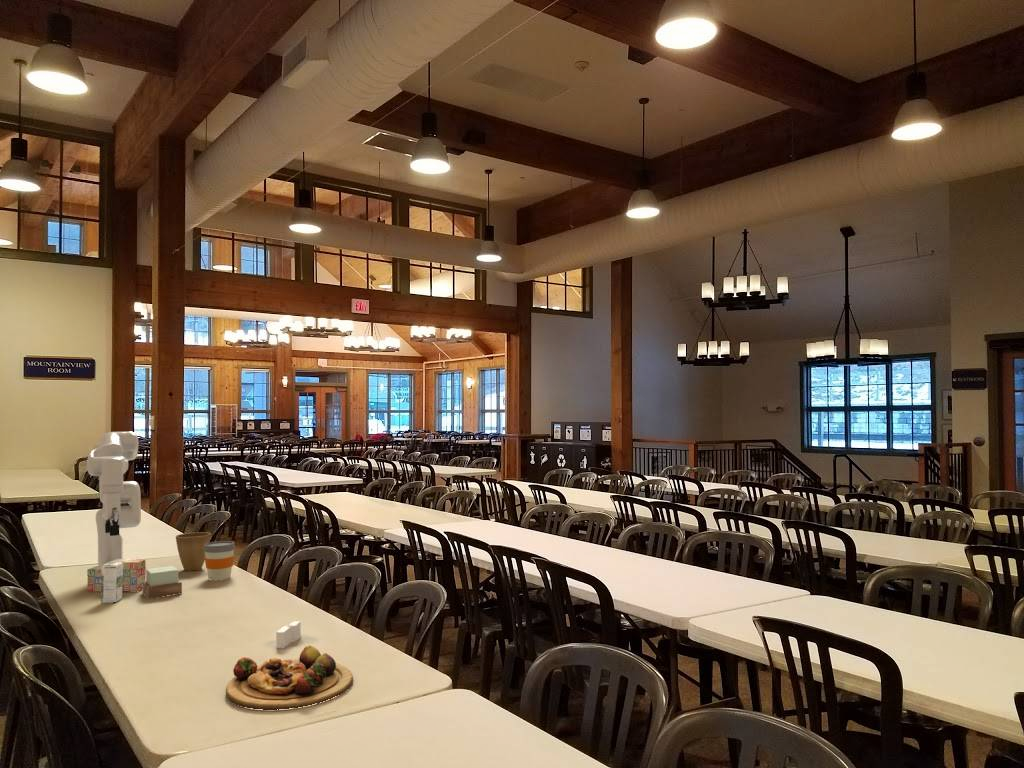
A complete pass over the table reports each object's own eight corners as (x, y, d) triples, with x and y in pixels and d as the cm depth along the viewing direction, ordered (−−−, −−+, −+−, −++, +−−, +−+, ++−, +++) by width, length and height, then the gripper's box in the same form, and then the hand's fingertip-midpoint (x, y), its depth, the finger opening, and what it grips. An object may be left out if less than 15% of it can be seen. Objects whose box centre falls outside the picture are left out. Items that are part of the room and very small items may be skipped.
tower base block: (142, 594, 299) (142, 581, 299) (174, 589, 306) (174, 577, 306) (149, 600, 289) (149, 587, 289) (181, 595, 296) (181, 582, 297)
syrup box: (107, 599, 289) (107, 562, 290) (123, 599, 290) (123, 561, 290) (100, 603, 283) (100, 565, 284) (116, 602, 284) (116, 564, 284)
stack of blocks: (86, 592, 302) (87, 561, 303) (96, 588, 309) (96, 558, 309) (137, 592, 301) (137, 561, 301) (145, 588, 307) (146, 558, 308)
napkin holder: (279, 653, 224) (279, 634, 224) (259, 645, 231) (259, 627, 232) (321, 641, 235) (321, 623, 235) (301, 634, 243) (301, 616, 243)
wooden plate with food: (197, 703, 186) (197, 669, 186) (279, 660, 216) (279, 631, 216) (303, 723, 175) (303, 688, 175) (375, 675, 205) (375, 645, 205)
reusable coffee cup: (197, 580, 320) (197, 545, 321) (219, 574, 332) (219, 540, 332) (220, 582, 316) (220, 547, 316) (241, 576, 327) (241, 541, 328)
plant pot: (213, 569, 341) (213, 534, 341) (178, 574, 332) (178, 538, 333) (206, 564, 353) (206, 530, 353) (172, 568, 345) (172, 534, 345)
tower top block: (146, 581, 299) (146, 569, 299) (172, 578, 305) (173, 565, 305) (150, 586, 291) (150, 573, 291) (178, 582, 297) (178, 569, 297)
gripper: (97, 488, 292) (97, 532, 292) (105, 492, 279) (105, 537, 278) (118, 487, 297) (118, 530, 296) (127, 490, 283) (127, 535, 283)
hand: (112, 533), depth 287 cm, fingers open, 9 cm apart
